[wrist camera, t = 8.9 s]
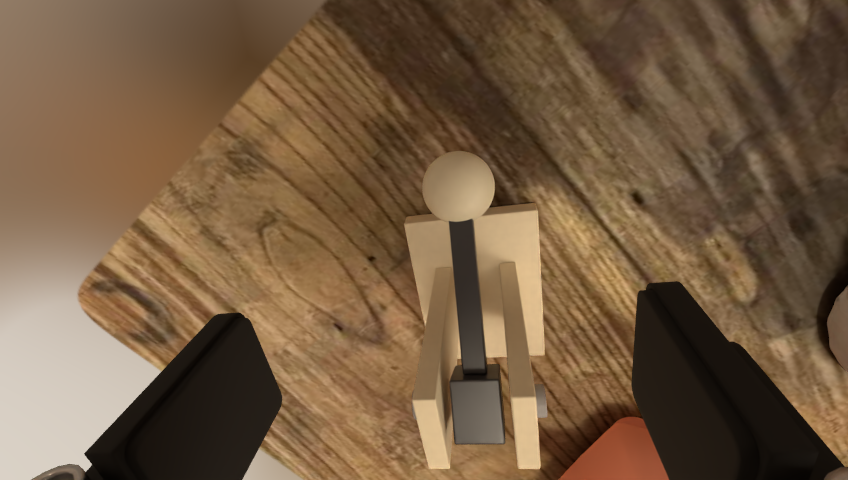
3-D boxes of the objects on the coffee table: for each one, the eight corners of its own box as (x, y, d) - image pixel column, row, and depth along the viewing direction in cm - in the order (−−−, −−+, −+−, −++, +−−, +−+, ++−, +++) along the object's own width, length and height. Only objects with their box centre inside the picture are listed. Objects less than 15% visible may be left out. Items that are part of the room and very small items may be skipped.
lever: (426, 164, 21) (412, 148, 18) (492, 155, 21) (490, 137, 17) (449, 418, 21) (439, 450, 17) (517, 416, 20) (520, 450, 17)
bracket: (406, 216, 26) (357, 339, 16) (535, 202, 25) (576, 328, 14) (433, 349, 31) (409, 511, 20) (542, 343, 29) (577, 516, 19)
